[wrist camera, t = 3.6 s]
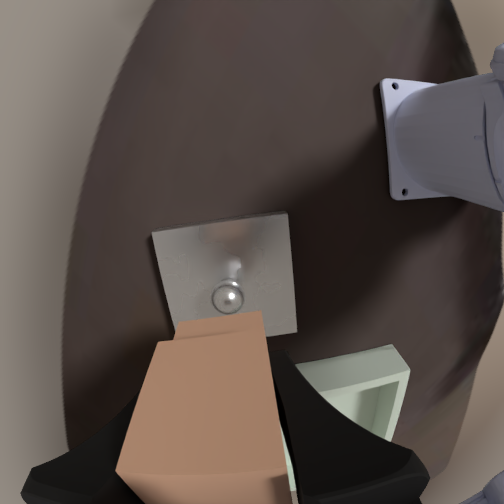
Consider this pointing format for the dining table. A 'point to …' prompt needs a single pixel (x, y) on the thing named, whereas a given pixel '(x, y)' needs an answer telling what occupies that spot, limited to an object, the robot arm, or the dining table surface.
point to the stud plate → (229, 269)
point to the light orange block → (208, 419)
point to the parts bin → (360, 389)
